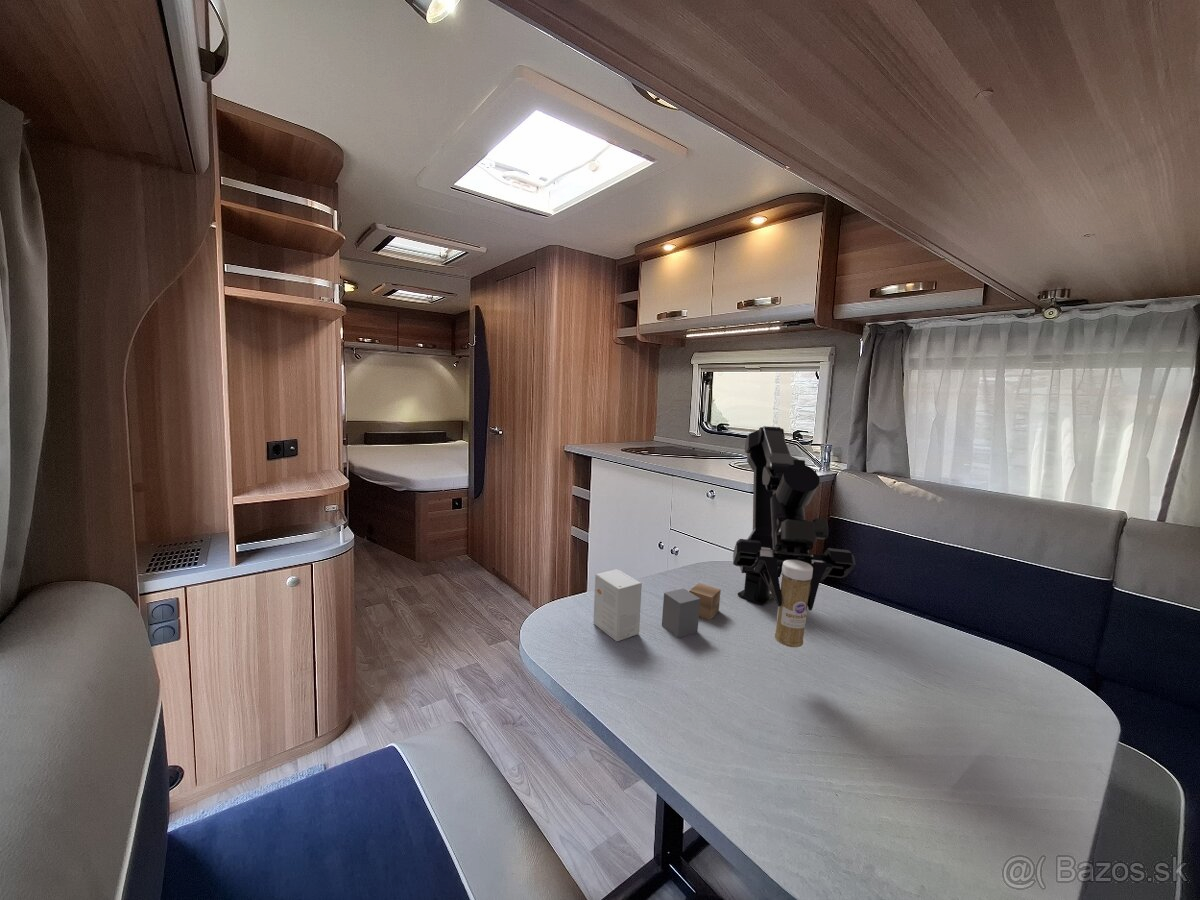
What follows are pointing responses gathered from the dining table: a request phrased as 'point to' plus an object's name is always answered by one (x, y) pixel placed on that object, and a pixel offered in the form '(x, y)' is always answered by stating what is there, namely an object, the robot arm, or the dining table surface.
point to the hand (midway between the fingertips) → (794, 607)
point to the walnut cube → (707, 599)
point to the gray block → (680, 612)
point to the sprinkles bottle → (793, 602)
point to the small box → (617, 604)
